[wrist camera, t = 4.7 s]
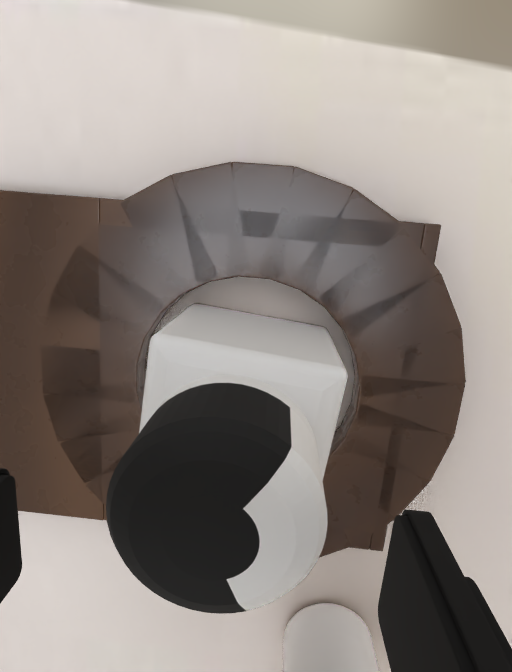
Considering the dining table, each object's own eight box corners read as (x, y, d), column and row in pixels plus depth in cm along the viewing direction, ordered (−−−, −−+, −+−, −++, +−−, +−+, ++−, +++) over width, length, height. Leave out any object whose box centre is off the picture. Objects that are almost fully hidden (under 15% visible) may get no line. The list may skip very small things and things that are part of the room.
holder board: (491, 185, 19) (508, 181, 18) (414, 565, 24) (422, 587, 23) (-65, 144, 20) (-91, 137, 19) (-27, 516, 26) (-46, 533, 24)
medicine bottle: (174, 426, 23) (64, 622, 12) (191, 300, 21) (82, 382, 10) (301, 451, 23) (319, 673, 11) (329, 326, 21) (384, 440, 10)
